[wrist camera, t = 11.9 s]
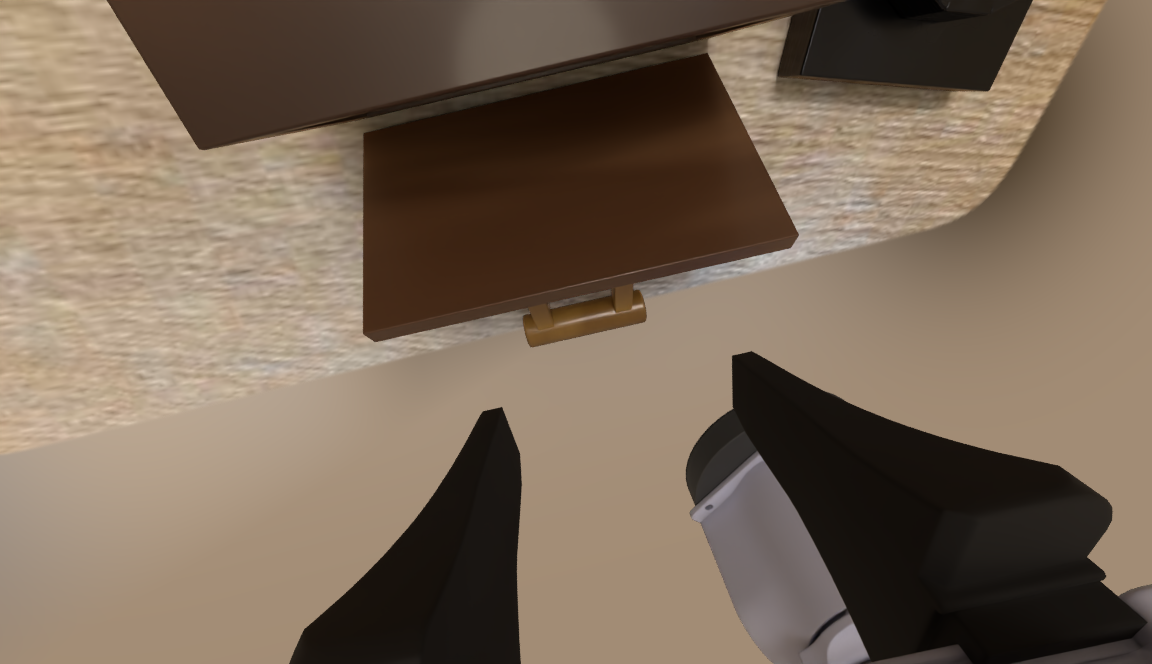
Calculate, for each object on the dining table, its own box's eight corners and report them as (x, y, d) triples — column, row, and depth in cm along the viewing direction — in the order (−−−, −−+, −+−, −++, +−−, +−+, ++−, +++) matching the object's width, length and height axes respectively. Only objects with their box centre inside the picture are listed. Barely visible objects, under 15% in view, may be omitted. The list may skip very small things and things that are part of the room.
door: (685, 169, 21) (744, 318, 18) (429, 228, 21) (440, 386, 18) (707, 52, 16) (799, 234, 12) (362, 132, 16) (362, 334, 12)
